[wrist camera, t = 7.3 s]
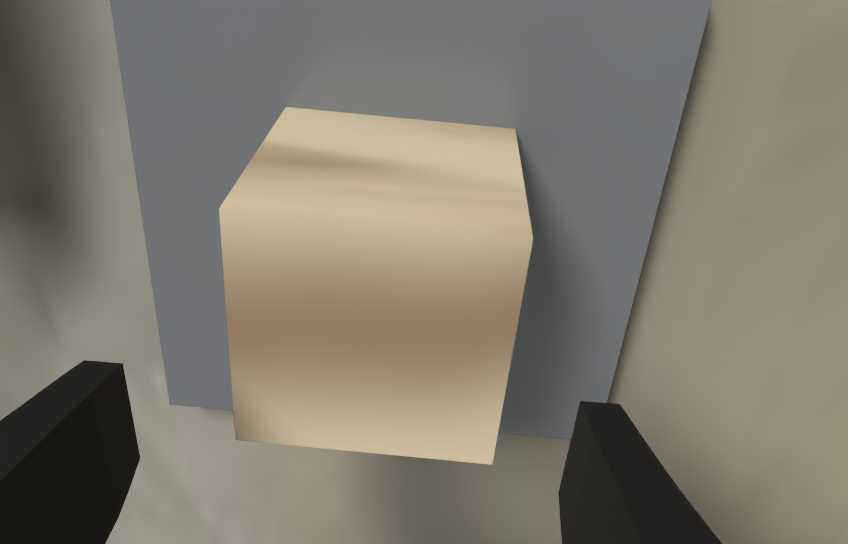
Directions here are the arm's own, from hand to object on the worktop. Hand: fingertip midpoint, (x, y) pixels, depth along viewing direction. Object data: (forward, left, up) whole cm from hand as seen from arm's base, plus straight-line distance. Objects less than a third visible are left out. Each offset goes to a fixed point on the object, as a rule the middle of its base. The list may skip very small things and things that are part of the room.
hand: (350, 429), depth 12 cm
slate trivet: (0, 0, -8) cm, 8 cm away
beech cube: (0, 0, -7) cm, 7 cm away
